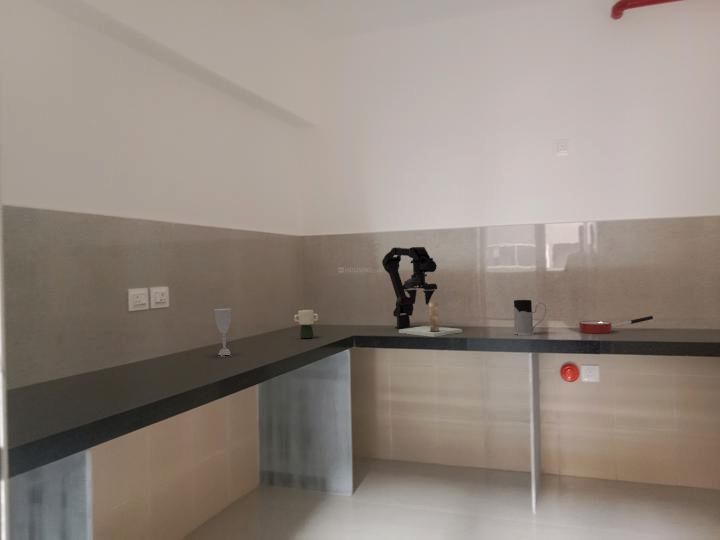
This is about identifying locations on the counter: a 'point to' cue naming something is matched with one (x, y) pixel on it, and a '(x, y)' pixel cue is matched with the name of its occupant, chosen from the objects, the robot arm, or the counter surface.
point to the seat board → (426, 331)
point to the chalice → (223, 326)
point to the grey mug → (524, 317)
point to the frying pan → (604, 325)
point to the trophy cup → (306, 322)
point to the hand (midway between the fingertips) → (420, 304)
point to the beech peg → (434, 317)
